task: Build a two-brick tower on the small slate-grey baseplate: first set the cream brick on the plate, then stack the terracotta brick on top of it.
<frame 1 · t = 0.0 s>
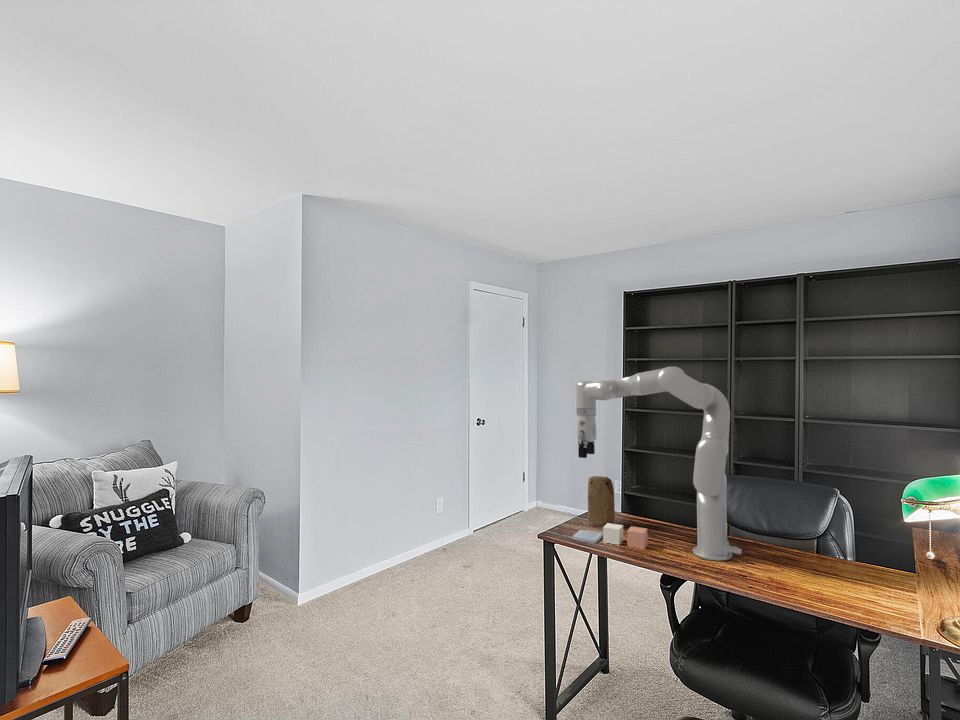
hand: (586, 455, 204), 31 cm above the table, tool pointing down, fingers open, 9 cm apart
block: (601, 525, 216), on the table
plate: (587, 537, 200), on the table
cream brick: (613, 542, 195), on the table
terracotta brick: (637, 546, 191), on the table
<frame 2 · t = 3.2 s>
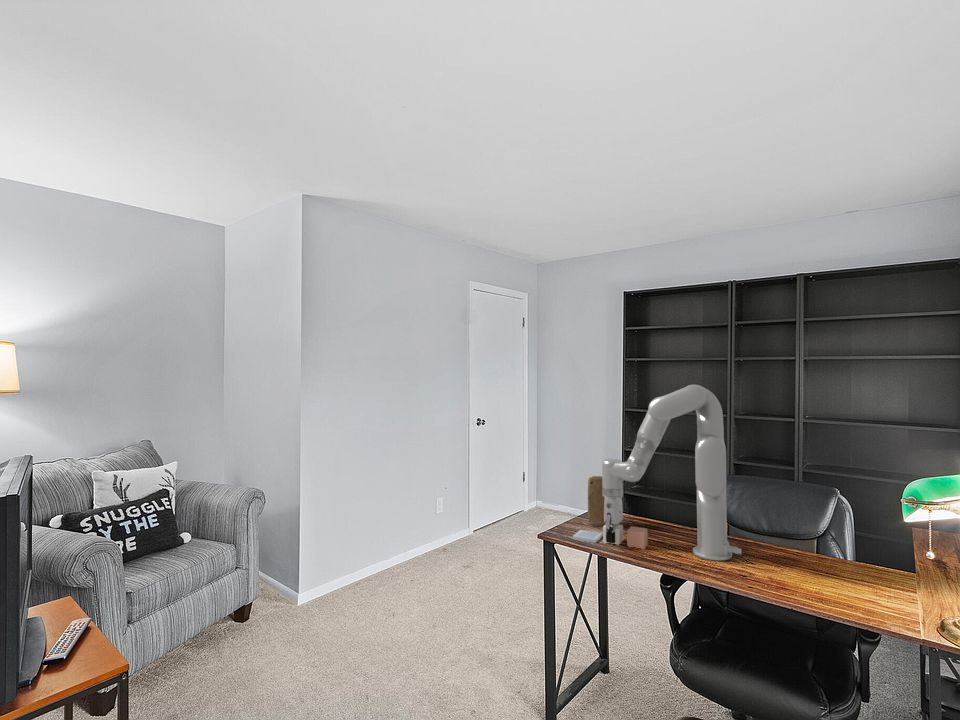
hand: (613, 539, 195), 1 cm above the table, tool pointing down, fingers closed on cream brick, 6 cm apart
cream brick: (613, 541, 195), on the table, touching gripper
everything else where it was.
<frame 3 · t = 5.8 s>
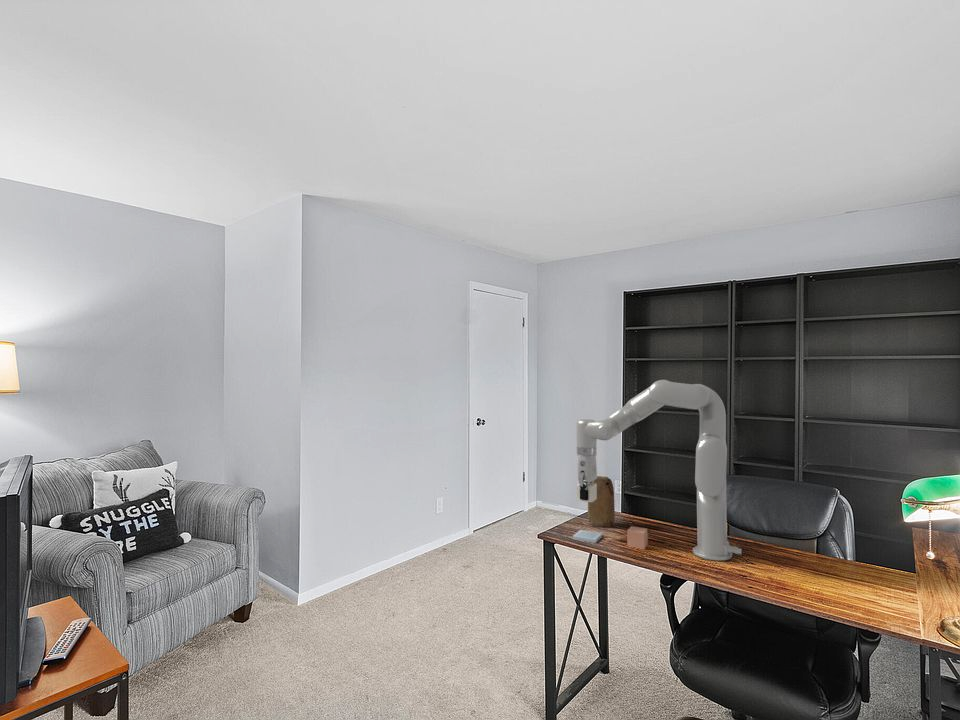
hand: (586, 497, 200), 16 cm above the table, tool pointing down, fingers closed on cream brick, 6 cm apart
cream brick: (586, 499, 200), point 15 cm above the table, touching gripper
everything else where it was.
when the fingers open (3 cm above the table, at t = 8.4 s): cream brick stays where it is, resting on plate.
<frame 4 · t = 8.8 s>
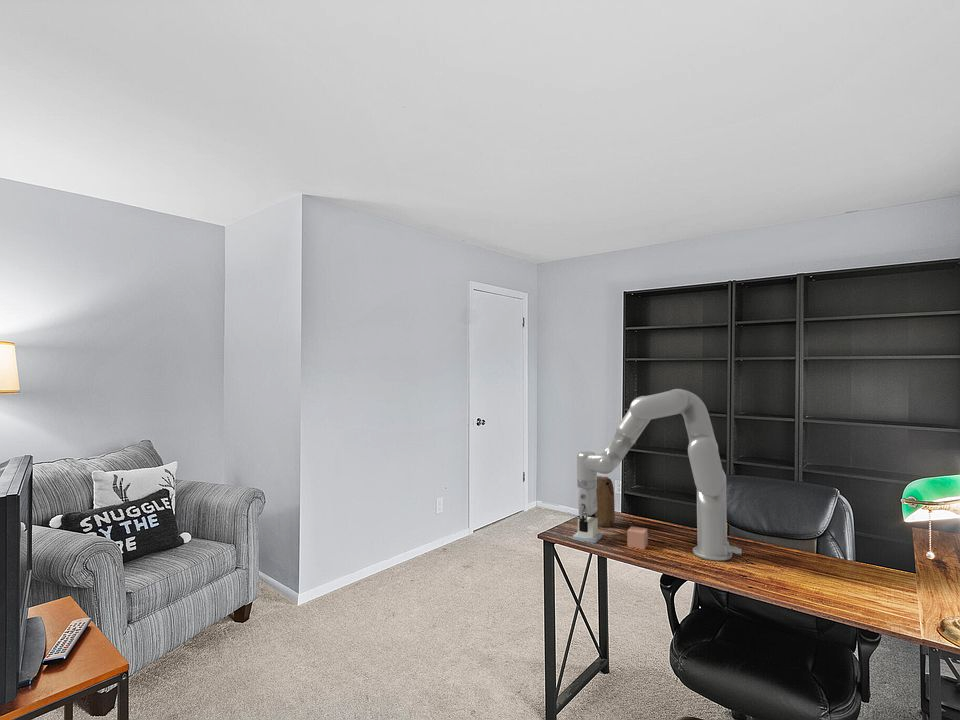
hand: (587, 528, 200), 4 cm above the table, tool pointing down, fingers open, 9 cm apart
cream brick: (587, 534, 200), point 1 cm above the table, touching plate
everything else where it was.
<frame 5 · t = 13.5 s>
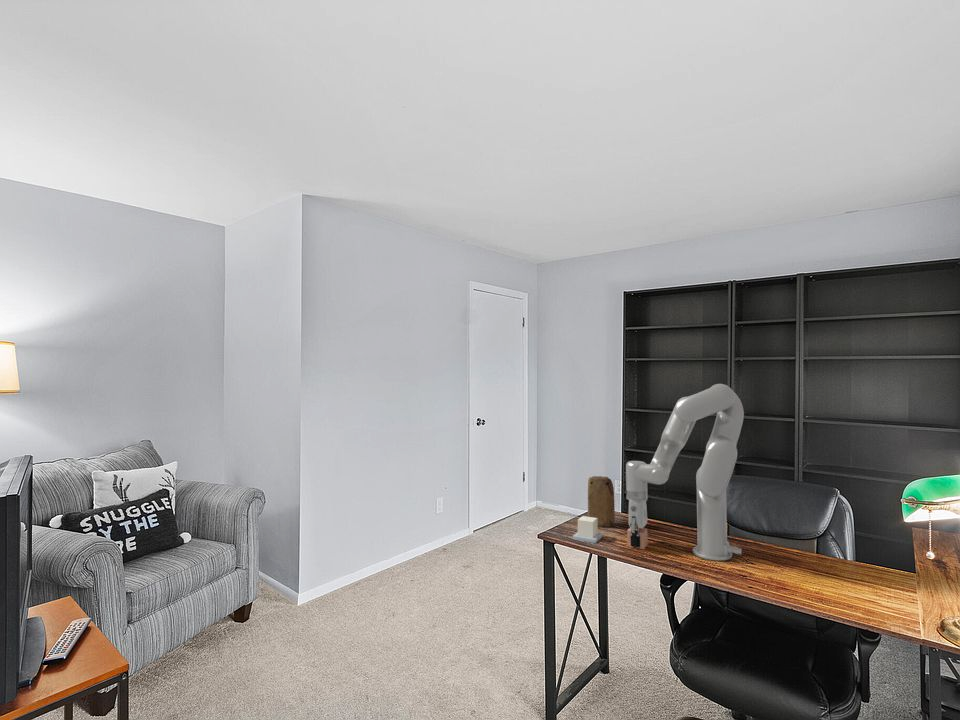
hand: (637, 543, 191), 1 cm above the table, tool pointing down, fingers closed on terracotta brick, 6 cm apart
terracotta brick: (637, 545, 191), on the table, touching gripper
everything else where it was.
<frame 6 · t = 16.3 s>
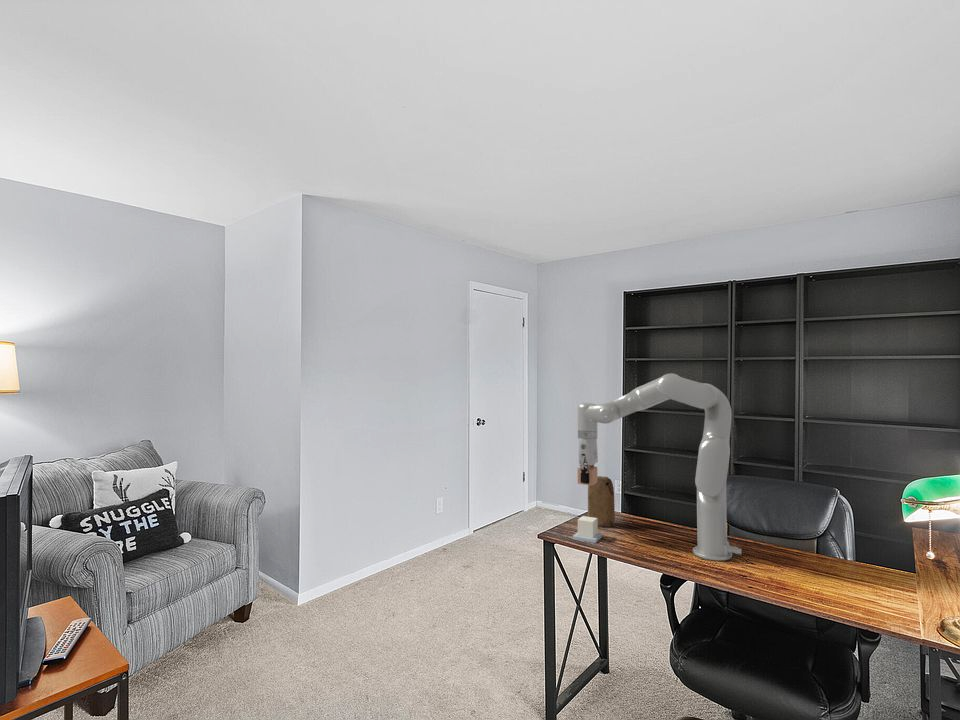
hand: (587, 481, 200), 22 cm above the table, tool pointing down, fingers closed on terracotta brick, 6 cm apart
terracotta brick: (587, 483, 200), point 21 cm above the table, touching gripper
everything else where it was.
when the fingers open (9 cm above the table, at t = 19.2 s): terracotta brick stays where it is, resting on cream brick.
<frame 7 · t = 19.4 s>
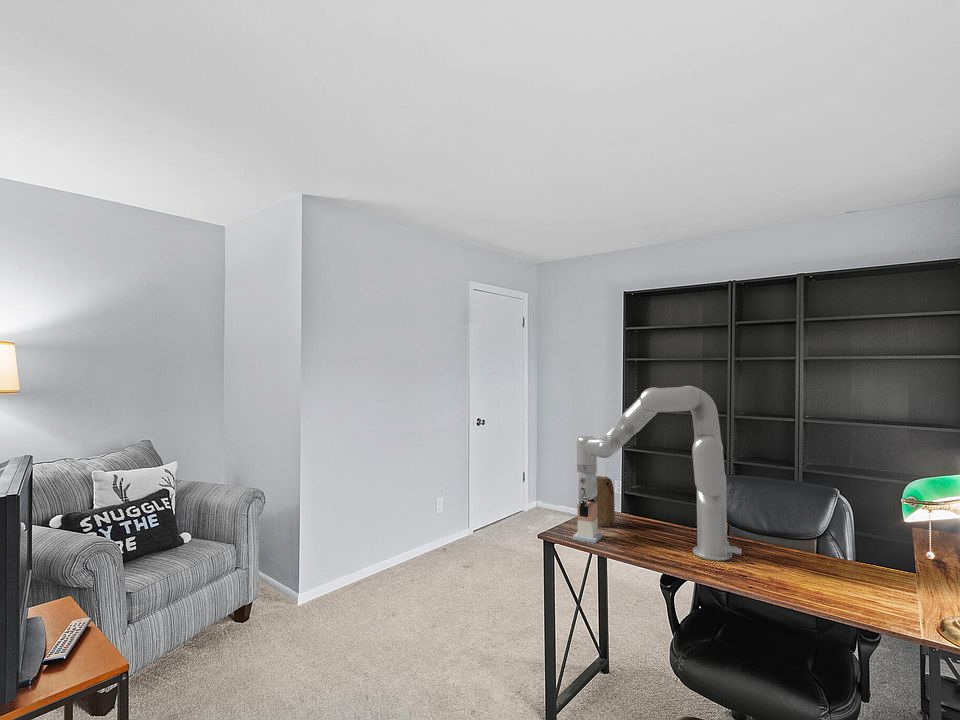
hand: (587, 513, 200), 9 cm above the table, tool pointing down, fingers open, 8 cm apart
cream brick: (587, 534, 200), point 1 cm above the table, touching plate, terracotta brick
terracotta brick: (587, 518, 200), point 7 cm above the table, touching cream brick
everything else where it was.
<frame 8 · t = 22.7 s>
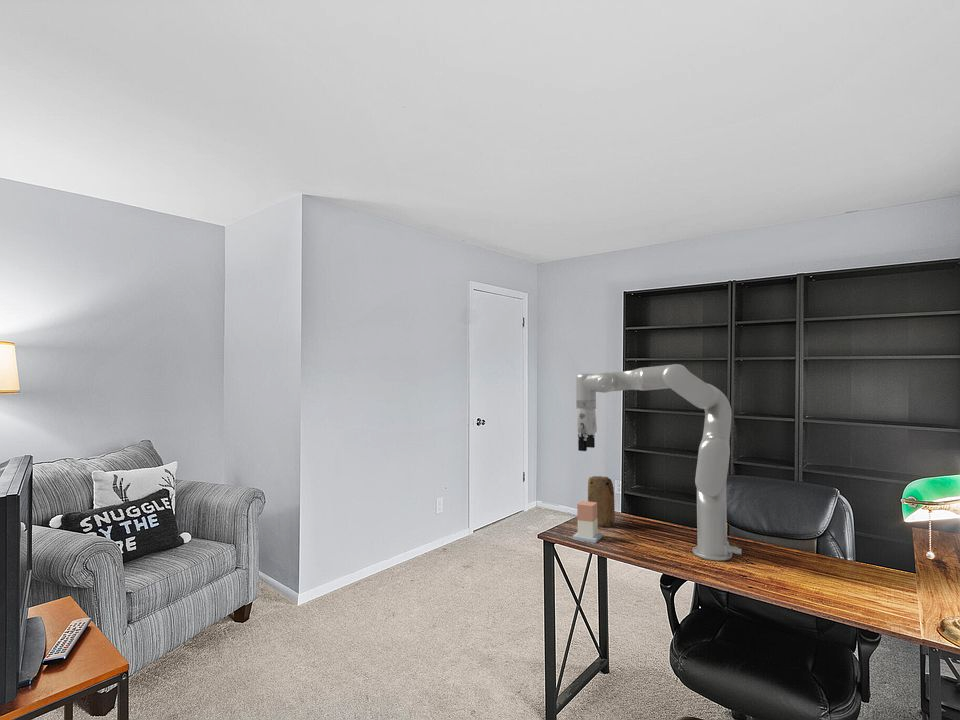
hand: (586, 449, 201), 34 cm above the table, tool pointing down, fingers open, 9 cm apart
nothing on the table moved.
at the end: cream brick 0.0 cm off-centre on the plate, point 1.2 cm above the plate's base; terracotta brick 0.0 cm off-centre on the cream brick, point 6.0 cm above the cream brick's base; terracotta brick tilted 0° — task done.
